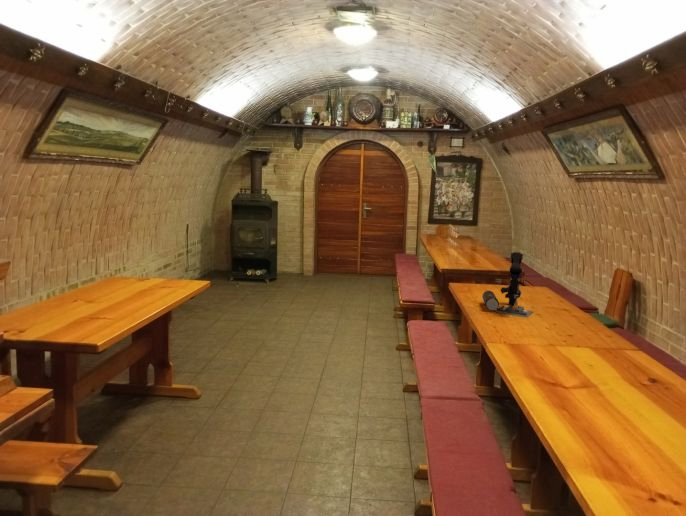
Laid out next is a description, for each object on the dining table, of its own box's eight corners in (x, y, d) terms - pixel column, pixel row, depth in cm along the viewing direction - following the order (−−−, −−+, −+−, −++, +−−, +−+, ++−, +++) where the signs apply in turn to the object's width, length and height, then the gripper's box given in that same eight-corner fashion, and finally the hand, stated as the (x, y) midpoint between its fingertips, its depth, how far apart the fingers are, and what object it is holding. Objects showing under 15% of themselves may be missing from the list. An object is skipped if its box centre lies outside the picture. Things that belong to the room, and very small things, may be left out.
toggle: (512, 309, 391) (513, 299, 390) (517, 310, 389) (518, 300, 388) (511, 310, 389) (512, 300, 388) (516, 311, 387) (517, 301, 386)
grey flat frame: (502, 306, 400) (502, 305, 400) (531, 311, 390) (531, 309, 389) (496, 310, 388) (496, 308, 388) (526, 315, 377) (526, 313, 377)
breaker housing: (510, 308, 397) (510, 304, 397) (527, 310, 391) (527, 307, 390) (505, 311, 386) (505, 308, 386) (522, 314, 380) (523, 310, 379)
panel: (502, 307, 402) (502, 306, 401) (533, 313, 390) (533, 311, 390) (495, 312, 388) (495, 310, 388) (527, 317, 377) (527, 315, 377)
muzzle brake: (494, 304, 413) (495, 290, 412) (499, 313, 386) (499, 298, 384) (481, 303, 415) (482, 289, 413) (484, 312, 387) (485, 297, 386)
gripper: (506, 280, 393) (504, 302, 395) (498, 284, 377) (496, 307, 379) (522, 282, 387) (520, 304, 389) (515, 286, 371) (513, 309, 374)
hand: (512, 306), depth 383 cm, fingers closed
